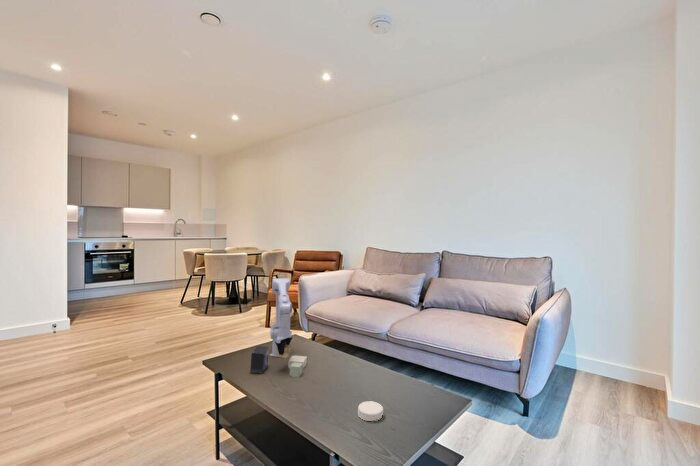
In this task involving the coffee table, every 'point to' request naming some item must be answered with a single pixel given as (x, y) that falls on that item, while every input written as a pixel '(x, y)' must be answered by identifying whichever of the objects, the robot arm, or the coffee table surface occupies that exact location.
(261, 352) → the small box
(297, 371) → the sage cube
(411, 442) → the coffee table surface
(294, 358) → the base block
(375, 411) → the coaster
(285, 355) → the oak cube
